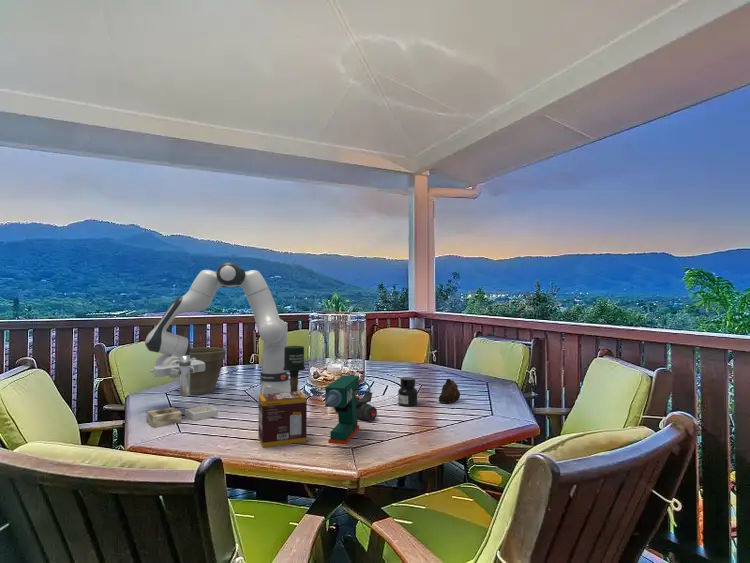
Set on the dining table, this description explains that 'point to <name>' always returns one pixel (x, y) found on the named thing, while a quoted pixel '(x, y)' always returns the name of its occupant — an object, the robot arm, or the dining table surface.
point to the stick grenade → (294, 363)
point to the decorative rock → (449, 392)
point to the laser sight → (365, 408)
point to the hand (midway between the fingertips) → (185, 371)
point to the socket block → (163, 417)
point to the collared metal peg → (184, 375)
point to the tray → (201, 412)
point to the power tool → (343, 407)
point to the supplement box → (282, 418)
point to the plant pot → (206, 369)
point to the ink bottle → (407, 392)
